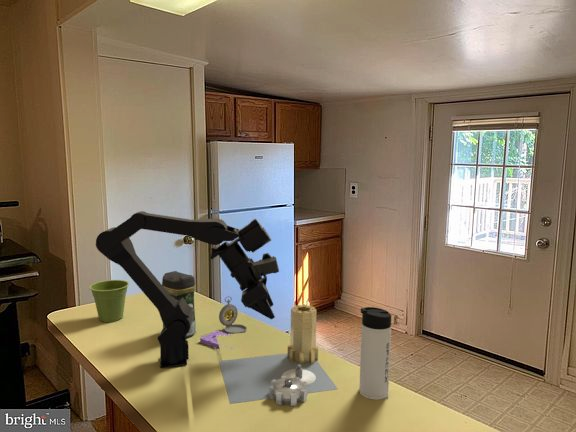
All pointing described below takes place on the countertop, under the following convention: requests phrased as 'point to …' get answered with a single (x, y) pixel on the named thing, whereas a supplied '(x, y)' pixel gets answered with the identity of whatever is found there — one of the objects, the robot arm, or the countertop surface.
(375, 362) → the travel mug
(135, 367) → the countertop surface
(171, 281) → the coffee jar
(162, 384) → the countertop surface
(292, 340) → the gear
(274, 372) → the gear board
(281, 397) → the gear
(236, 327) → the pocket watch
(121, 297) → the plant pot
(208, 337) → the sponges
